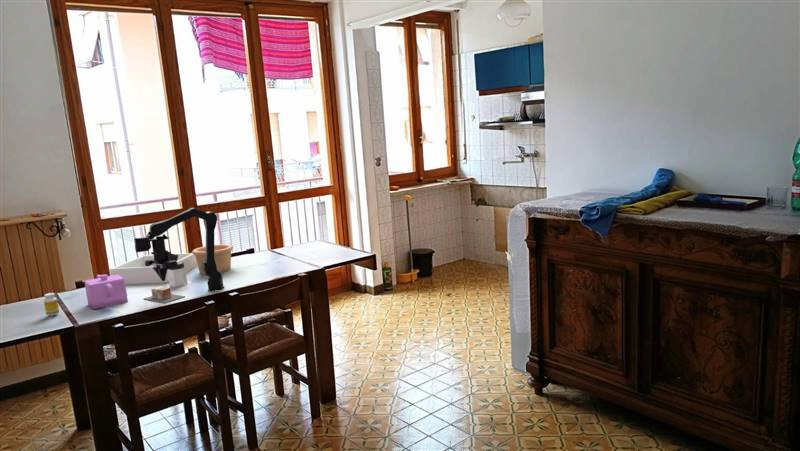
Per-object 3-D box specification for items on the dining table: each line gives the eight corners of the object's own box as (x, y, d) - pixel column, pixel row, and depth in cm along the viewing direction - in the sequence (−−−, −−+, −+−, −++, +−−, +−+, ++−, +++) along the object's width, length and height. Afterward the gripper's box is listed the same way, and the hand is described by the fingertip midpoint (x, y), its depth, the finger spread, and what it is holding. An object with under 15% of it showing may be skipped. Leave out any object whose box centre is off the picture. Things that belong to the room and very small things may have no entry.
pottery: (210, 279, 314) (207, 253, 312) (187, 275, 328) (184, 250, 325) (243, 270, 331) (240, 245, 329) (220, 266, 345) (217, 243, 342)
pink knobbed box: (118, 294, 296) (114, 267, 294) (130, 303, 276) (126, 275, 274) (85, 301, 287) (80, 274, 284) (95, 311, 267) (90, 282, 265)
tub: (198, 267, 346) (196, 252, 344) (171, 282, 312) (169, 266, 311) (144, 270, 349) (142, 255, 348) (112, 285, 316) (109, 269, 314)
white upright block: (166, 286, 305) (163, 264, 303) (179, 282, 312) (176, 261, 310) (177, 287, 300) (174, 265, 298) (190, 283, 307) (187, 262, 305)
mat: (185, 297, 281) (185, 296, 280) (164, 303, 272) (164, 302, 272) (163, 293, 291) (163, 292, 291) (143, 299, 282) (143, 298, 282)
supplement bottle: (44, 314, 268) (40, 294, 266) (57, 311, 272) (53, 291, 270) (48, 316, 264) (44, 296, 262) (61, 313, 268) (57, 293, 266)
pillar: (170, 287, 281) (159, 286, 286) (161, 290, 277) (151, 288, 282) (171, 296, 282) (160, 294, 287) (163, 299, 278) (152, 297, 283)
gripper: (185, 247, 277) (189, 278, 280) (163, 244, 288) (167, 275, 291) (164, 251, 268) (169, 284, 271) (142, 249, 279) (146, 280, 282)
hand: (163, 280), depth 279 cm, fingers closed
